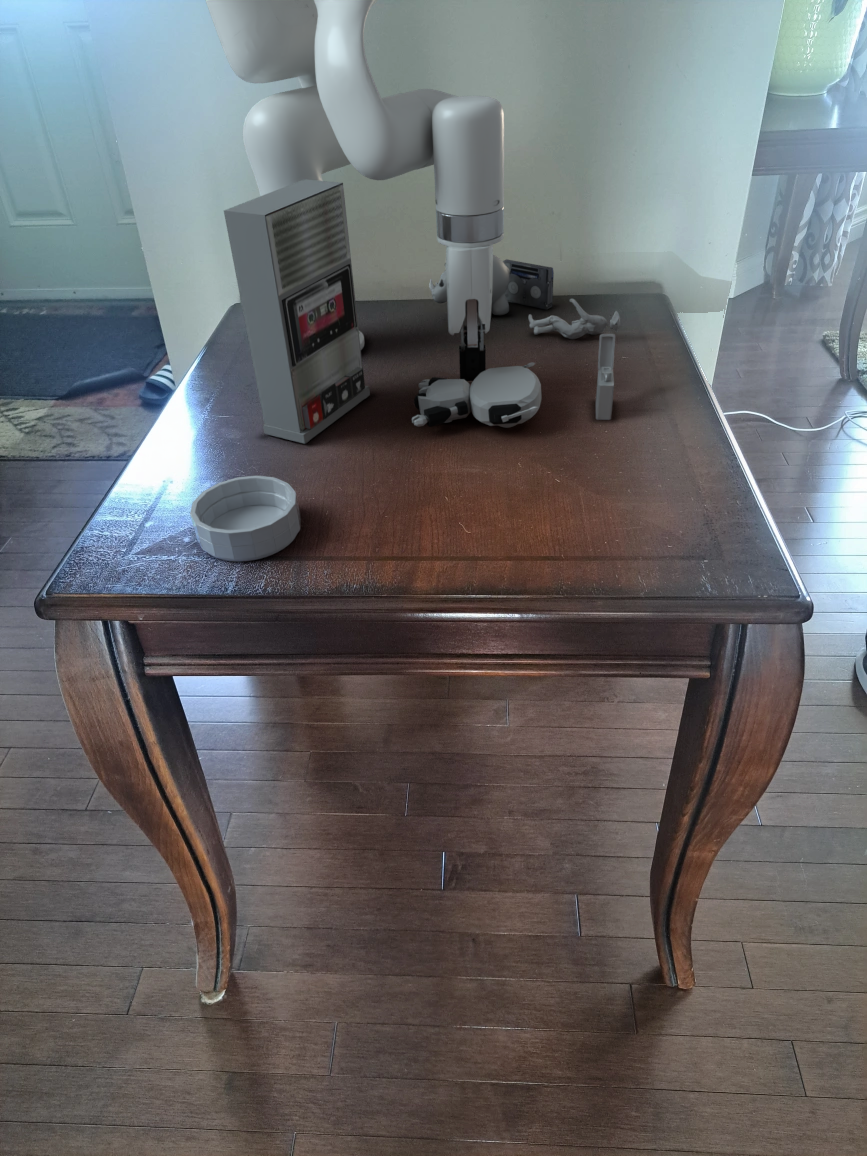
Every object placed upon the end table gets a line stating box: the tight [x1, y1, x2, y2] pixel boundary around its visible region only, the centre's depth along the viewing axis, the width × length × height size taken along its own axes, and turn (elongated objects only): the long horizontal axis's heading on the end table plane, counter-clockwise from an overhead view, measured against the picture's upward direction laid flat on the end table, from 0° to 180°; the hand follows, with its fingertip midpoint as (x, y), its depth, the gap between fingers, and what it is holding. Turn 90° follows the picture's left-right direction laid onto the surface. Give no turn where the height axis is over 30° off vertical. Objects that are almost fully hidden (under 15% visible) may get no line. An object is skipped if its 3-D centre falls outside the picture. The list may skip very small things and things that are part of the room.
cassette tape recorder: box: [223, 179, 371, 445], centre depth 93 cm, size 14×6×25 cm, turn 151°
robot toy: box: [411, 361, 543, 429], centre depth 97 cm, size 12×4×15 cm
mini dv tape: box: [502, 258, 555, 311], centre depth 126 cm, size 8×2×6 cm, turn 52°
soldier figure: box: [527, 298, 621, 340], centre depth 115 cm, size 8×5×12 cm
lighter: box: [595, 333, 616, 421], centre depth 97 cm, size 7×2×8 cm, turn 172°
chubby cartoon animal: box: [428, 254, 510, 316], centre depth 123 cm, size 7×12×8 cm, turn 97°
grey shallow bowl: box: [189, 475, 302, 562], centre depth 81 cm, size 10×10×4 cm
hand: (472, 378), depth 104 cm, fingers closed
